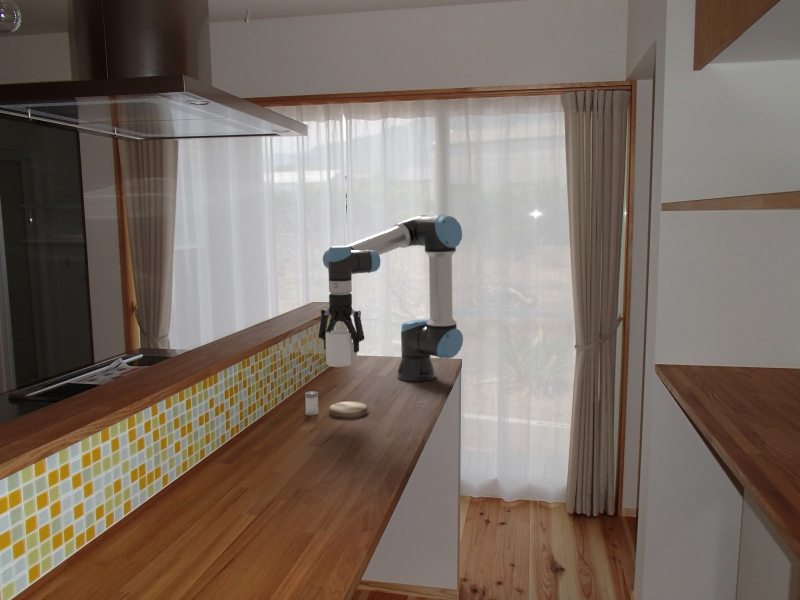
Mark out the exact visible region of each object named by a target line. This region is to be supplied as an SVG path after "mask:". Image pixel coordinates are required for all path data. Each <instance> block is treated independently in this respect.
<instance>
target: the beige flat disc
mask: <svg viewBox="0 0 800 600" xmlns="http://www.w3.org/2000/svg"><path fill="white" fill-rule="evenodd" d="M368 409H369V407H368V406H367V405H366V404H365V403H363V402H359V401H347V400H346V401H340V402H336V403H333V404H331V405H329V407H328V414H329V416H331V417H332V418H336V419H343V420H347V419H349V420H350V419H358V418H361V417H364V416H366V415H367V414H368V413H369V410H368Z"/></svg>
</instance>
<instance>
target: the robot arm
mask: <svg viewBox="0 0 800 600" xmlns="http://www.w3.org/2000/svg"><path fill="white" fill-rule="evenodd" d="M462 239H463V230H462V226H461V223H460V222H459V221H458V220H457V219H456V218H455V217H454V216H452V215H445V214H444V215H443V214H442V215H441V214H439V215H426V214H425V215H424V214H423V215H417V216H414V217H412V218H408V219H405V220H403V221H401V222H397V223H395V224H394V225H393V226H392V228H389V229H387V230H384V231H382V232H380V233H376V234H374V235H372V236H369V237H365V238H364V239H363V238H362V239H361V240H358V241H355V242H353V243H350V244H348V245H332V246H329V248H327V250H325V251H324V252H323V256H322V262H323V265H324V267H325V268H326V269H327V270H328V272H327V273H328V292H329V294H328V305H329V308H323V309H321V310H320V315H321V319H320V324H319V325H320V326H319V331H318V338H319V339H321V340H323V348H324V350H325V351H326V332H328V331H329V333H330V332H331V331H333V330H335V328H336V324H337V322H341V323H342V322H343V323H344V325H345V326H346V328H347V331H349V333H351V338H352V343H351V362H352V363H356V362H357V361H358V352H360V342H362V341H364V340H365V334H364V330H363V325H362V319H361V315H362V314H361V313H362V311H361V310H354V309H353V307H352V306H353V295H352V291H353V289H352V288H353V287H352V286H353V282H352V279H353V278H352V276H353V275H355V274H367V273H368V274H370V273H374V272H377V271H378V270H379V269H380V267H381V257H380V256H381V255H383V254H385V253H388V252H391V251H393V250H396V249H398V248H401V249H402V248H403V249H404V248H408V247H412V246H413V247H414V246H420V247H421V246H423V247H424V252H425V254H427V256H428V260H429V261H428V262H429V263H428V271H429V272H428V273H429V274H428V275H429V279H428V280H429V319H415V320H414V319H413V320H408V321H404V322H403V323H401V331H400V337H401V338H400V340H401V342H400V344H401V346H400V347H401V350H400V351H401V358H400V362H399V366H398V368H397V373H396V374H397V375H396V377H397V378H398V379H399V380H401V381H405V382H427V381H430V380H433V379H435V377H436V372H435V368H434V366H433V362H432V359H431V356H434V357H438V358H441V359H452V358H454V357H456V356H457V355H458V353H459V352H460V351H461V349H462V346H463V343H464V336H463V335H464V334H463V332H462V331H461V330H460V329H458V328H457V327H458V326H457V321H456V320H455V319H454V318H453V255H454V254H455V253H456V252H457V251H456V250H457V248H456V247H458V246H459V245H460V243H461V241H462ZM329 315H330V316H331V317H330V319H329ZM352 317H353V319H352ZM328 321H329V324H328ZM353 322H354V323H353ZM352 363H351V364H352Z"/></svg>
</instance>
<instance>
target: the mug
mask: <svg viewBox="0 0 800 600" xmlns="http://www.w3.org/2000/svg"><path fill="white" fill-rule="evenodd" d="M352 342H353V340H352V338H351V333H349V331H348V329H347V330H346V329H344V330H343V329H336V330H335V329H333V331H331V332H330V333H329V331H328V332H326V350H325V363H326V365H327V366H329V367H331V368H332V367H335V368H342V367H343V368H344V367H348V366H350V365H352V362H351V343H352Z"/></svg>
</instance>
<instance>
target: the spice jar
mask: <svg viewBox="0 0 800 600" xmlns="http://www.w3.org/2000/svg"><path fill="white" fill-rule="evenodd" d="M304 396H305V415H306V416H316V415H319V392H318V391H314V390H311V391H306V392H305V393H304Z"/></svg>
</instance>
